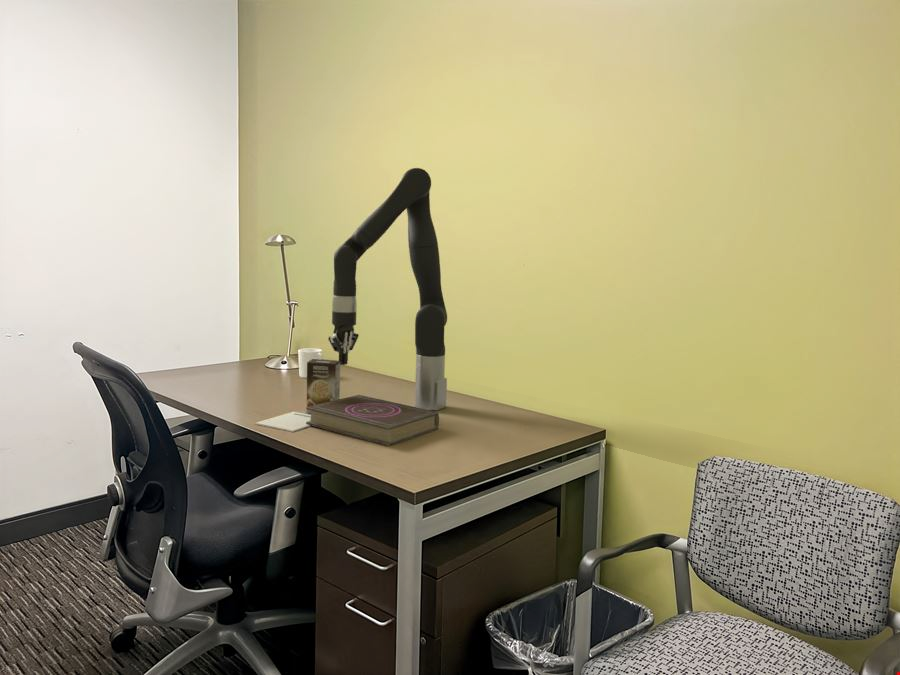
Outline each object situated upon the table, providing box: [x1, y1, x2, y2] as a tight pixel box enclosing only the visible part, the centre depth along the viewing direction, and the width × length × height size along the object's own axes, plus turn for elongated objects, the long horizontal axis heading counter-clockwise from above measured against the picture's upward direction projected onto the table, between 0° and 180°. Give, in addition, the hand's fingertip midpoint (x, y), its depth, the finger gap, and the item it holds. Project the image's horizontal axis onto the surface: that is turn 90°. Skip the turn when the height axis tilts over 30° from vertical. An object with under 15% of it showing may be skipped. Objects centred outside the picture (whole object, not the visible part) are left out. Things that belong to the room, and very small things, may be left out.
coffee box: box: [305, 359, 341, 415], centre depth 211 cm, size 9×6×16 cm
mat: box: [255, 411, 313, 433], centre depth 200 cm, size 14×16×1 cm
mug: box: [297, 347, 324, 380], centre depth 264 cm, size 11×9×10 cm
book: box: [305, 394, 440, 447], centre depth 197 cm, size 30×22×5 cm
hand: (343, 364), depth 219 cm, fingers closed
